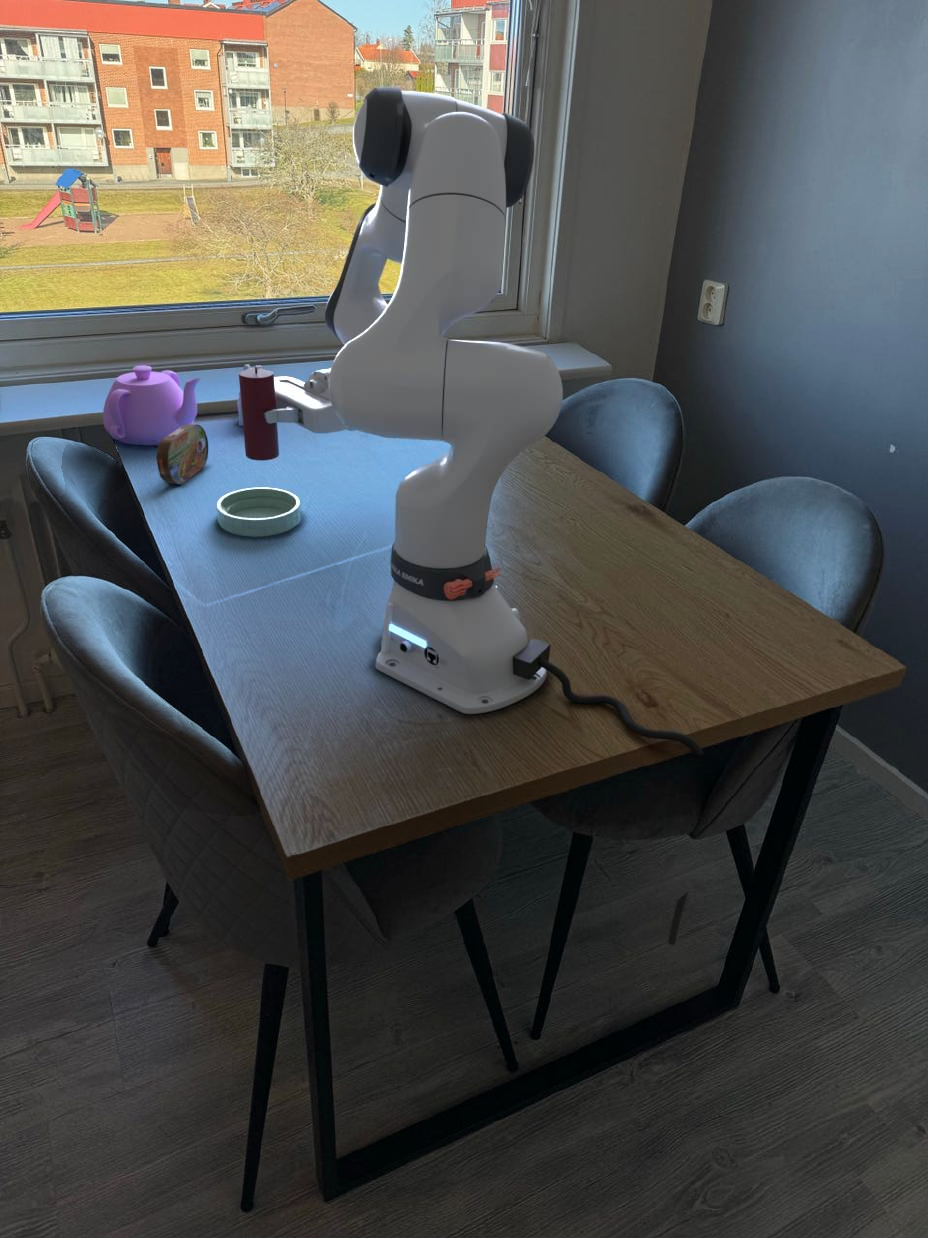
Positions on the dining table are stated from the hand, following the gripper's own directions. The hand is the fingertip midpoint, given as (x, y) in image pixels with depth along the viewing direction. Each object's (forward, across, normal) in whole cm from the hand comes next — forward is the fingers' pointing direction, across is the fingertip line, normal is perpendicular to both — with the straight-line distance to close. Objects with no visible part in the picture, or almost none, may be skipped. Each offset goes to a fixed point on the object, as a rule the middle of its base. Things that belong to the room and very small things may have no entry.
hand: (254, 411), depth 135 cm
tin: (+2, -25, +18) cm, 31 cm away
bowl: (0, 0, +18) cm, 18 cm away
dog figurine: (-25, -47, +18) cm, 56 cm away
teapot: (-4, -46, +18) cm, 50 cm away
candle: (-1, 0, +7) cm, 7 cm away
